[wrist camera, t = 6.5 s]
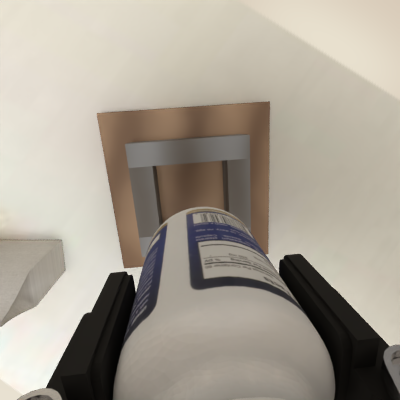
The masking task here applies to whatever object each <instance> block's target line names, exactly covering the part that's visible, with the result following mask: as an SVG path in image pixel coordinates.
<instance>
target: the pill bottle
mask: <svg viewBox="0 0 400 400" xmlns="http://www.w3.org/2000/svg"><path fill="white" fill-rule="evenodd" d="M334 397H335V377H334V370H333V365H332V361H331V358H330V355H329V352H328V350H327V348H326V346H325V344H324V342H323V340H322V339H321V337H320V335H319V334H318V332H317V330H316V329H315V327H314V326H313V325H312V323H311V322H310V320H309V318H308V316H307V315H306V313H305V312H304V310H303V309H302V308H301V306H300V305H299V303H298V302H297V301H296V299H295V298H294V296H293V295H292V293H291V292H290V290H289V289H288V287H287V286H286V284H285V283H284V281H283V280H282V278H281V277H280V275H279V274H278V272H277V271H276V269H275V268H274V266H273V265H272V263H271V262H270V260H269V259H268V257H267V256H266V255H265V253H264V252H263V250H262V249H261V247H260V246H259V244H258V243H257V241H256V240H255V238H254V237H253V235H252V234H251V232H250V231H249V230H248V228H247V227H246V226H245V225H244V224H243V223H242V222H241V221H240V220H239V219H238V218H237V217H235V216H234V215H232V214H230V213H228V212H226V211H224V210H221V209H218V208H213V207H195V208H190V209H186V210H183V211H181V212H179V213H177V214H175V215H173V216H171V217H170V218H169V219H167V220H166V221H165V222H164V223H163V224H162V225H161V226H160V227H159V228H158V230H157V231H156V232H155V234H154V236H153V237H152V240H151V242H150V244H149V247H148V250H147V253H146V257H145V261H144V265H143V269H142V272H141V276H140V280H139V284H138V288H137V292H136V295H135V299H134V303H133V307H132V311H131V315H130V318H129V322H128V326H127V330H126V333H125V337H124V341H123V344H122V348H121V351H120V356H119V361H118V365H117V371H116V375H115V380H114V388H113V400H334Z"/></svg>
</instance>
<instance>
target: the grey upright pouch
mask: <svg viewBox="0 0 400 400" xmlns="http://www.w3.org/2000/svg"><path fill="white" fill-rule="evenodd" d="M64 271H65V262H64V254H63V246H62V240H0V327H2V326H3V325H4V324H5V323H6V322H8V321H9V320H11V319H12V318H14V317H15V316H17V315H19V314H21V313H23V312H25V311H27V310H29V309H32V308H34V307H36V306H37V305H38V303H39V302H40V301H41V300H42V299H43V297H44V296H45V295H46V294H47V292H48V291H49V290H50V289H51V287H52V286H53V285H54V284H55V282H56V281H57V280H58V279H59V278H60V276H61V275H62V274H63V273H64Z"/></svg>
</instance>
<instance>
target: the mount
mask: <svg viewBox="0 0 400 400" xmlns="http://www.w3.org/2000/svg"><path fill="white" fill-rule="evenodd" d="M97 118H98V123H99V129H100V135H101V140H102V146H103V152H104V157H105V163H106V168H107V174H108V180H109V185H110V191H111V197H112V202H113V208H114V213H115V219H116V225H117V230H118V236H119V242H120V247H121V253H122V259H123V264H124V268H132V267H142V266H143V265H144V261H145V257H146V253H147V250H148V247H149V244H150V242H151V240H152V237H153V236H154V234H155V232H156V231H157V230H158V228H159V227H160V226H161V225H162V224H163V223H164V222H165V221H166V220H167V219H169V218H170V217H171V216H173V215H175V214H177V213H179V212H181V211H183V210H186V209H190V208H195V207H213V208H218V209H221V210H224V211H226V212H228V213H230V214H232V215H234V216H235V217H237V218H238V219H239V220H240V221H241V222H242V223H243V224H244V225H245V226H246V227H247V228H248V230H249V231H250V232H251V234H252V235H253V237H254V238H255V240H256V241H257V243H258V244H259V246H260V247H261V249H262V250H263V252H264V253H265V254H268V223H269V124H270V102H257V103H242V104H227V105H213V106H198V107H183V108H169V109H154V110H139V111H124V112H110V113H97Z"/></svg>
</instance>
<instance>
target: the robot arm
mask: <svg viewBox="0 0 400 400" xmlns="http://www.w3.org/2000/svg"><path fill="white" fill-rule="evenodd" d="M279 275H280V277H281V278H282V280H283V281H284V283H285V284H286V286H287V287H288V289H289V290H290V292H291V293H292V295H293V296H294V298H295V299H296V301H297V302H298V303H299V305H300V306H301V308H302V309H303V310H304V312H305V313H306V315H307V316H308V318H309V320H310V322H311V323H312V325H313V326H314V327H315V329H316V330H317V332H318V334H319V335H320V337H321V339H322V340H323V342H324V344H325V346H326V348H327V350H328V352H329V355H330V358H331V361H332V365H333V370H334V377H335V397H334V400H400V345H393V346H389V345H388V344H387V343H386V342H385V341H384V340H383V339H382V338H381V337H380V336H379V335H378V334H377V333H376V332H375V331H374V330H373V329H372V327H371V326H370V325H369V324H368V323H367V322H366V321H365V320H364V319H363V318H362V317H361V316H360V315H359V314H358V313H357V312H356V311H355V310H354V309H353V308H352V306H351V305H350V304H349V303H348V302H347V301H346V300H345V299H344V298H343V297H342V296H341V295H340V294H339V293H338V292H337V291H336V290H335V289H334V288H333V287H331V285H330V284H329V283H328V282H327V281H326V280H325V279H324V278H323V277H322V276H321V275H320V274H319V273H318V272H317V271H316V270H315V269H314V268H313V266H312V265H311V264H310V263H309V262H308V261H307V260H306V259H305V258H304V257H303V256H302V255H301V254H294V255H285V256H284V259H282V260H280V262H279ZM135 295H136V291H135V285H134V280H133V276H132V275H128V274H127V272H116V273H110V275H109V277H108V279H107V281H106V283H105V285H104V287H103V289H102V291H101V293H100V295H99V297H98V299H97V301H96V303H95V306H94V308H93V310H92V312H91V313H86V314H84V316H83V317H82V319H81V321H80V323H79V325H78V327H77V329H76V331H75V333H74V334H73V336H72V338H71V340H70V342H69V344H68V346H67V348H66V350H65V352H64V354H63V356H62V358H61V360H60V361H59V363H58V365H57V367H56V369H55V371H54V373H53V375H52V377H51V379H50V381H49V383H48V385H47V387H46V388H42V389H38V390H34V391H31V392H29V393H27V394H25V395H23V396H21V397H20V398H18V399H17V400H113V388H114V380H115V375H116V371H117V365H118V361H119V356H120V351H121V348H122V344H123V341H124V337H125V333H126V330H127V326H128V322H129V318H130V315H131V311H132V307H133V303H134V299H135Z"/></svg>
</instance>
